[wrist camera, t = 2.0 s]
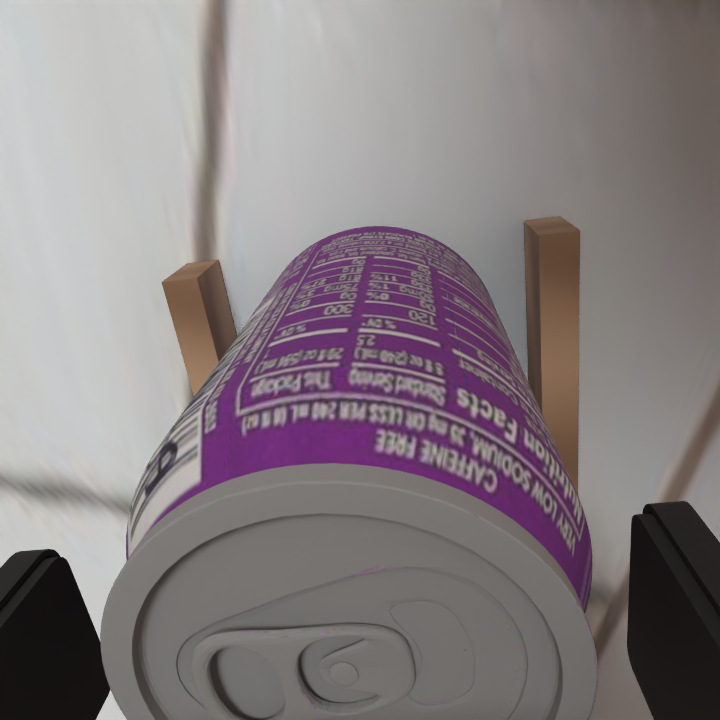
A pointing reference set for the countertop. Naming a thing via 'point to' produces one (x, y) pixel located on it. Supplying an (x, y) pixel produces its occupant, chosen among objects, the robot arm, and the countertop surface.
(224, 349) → the guide channel
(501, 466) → the beverage can
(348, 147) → the countertop surface
